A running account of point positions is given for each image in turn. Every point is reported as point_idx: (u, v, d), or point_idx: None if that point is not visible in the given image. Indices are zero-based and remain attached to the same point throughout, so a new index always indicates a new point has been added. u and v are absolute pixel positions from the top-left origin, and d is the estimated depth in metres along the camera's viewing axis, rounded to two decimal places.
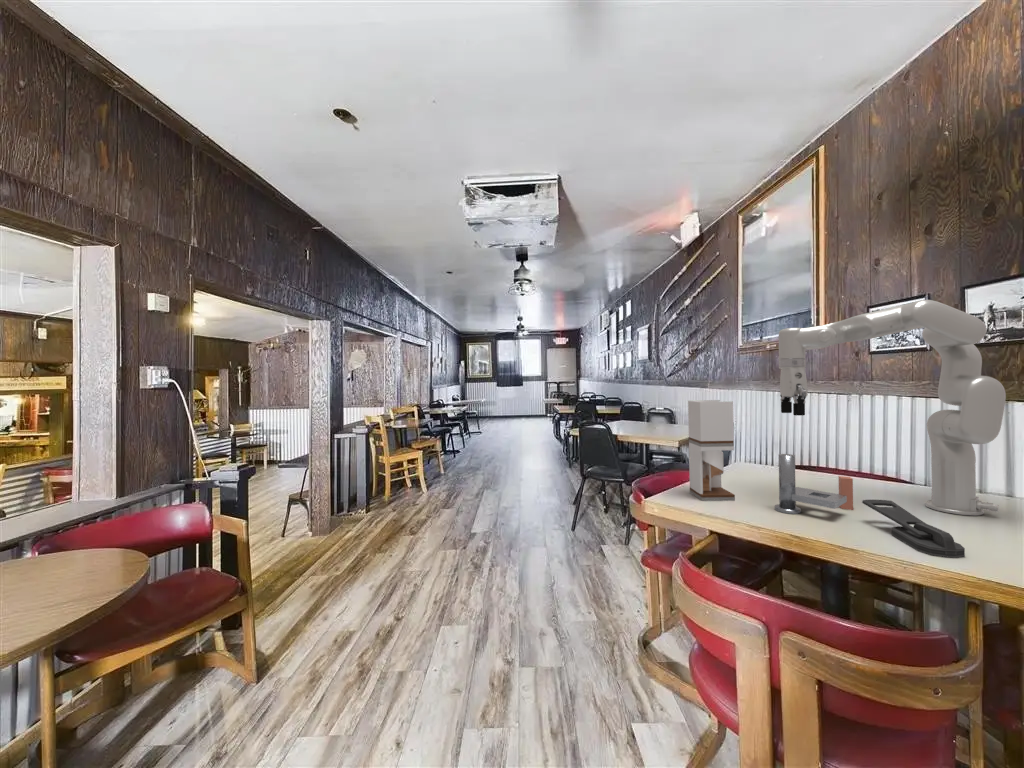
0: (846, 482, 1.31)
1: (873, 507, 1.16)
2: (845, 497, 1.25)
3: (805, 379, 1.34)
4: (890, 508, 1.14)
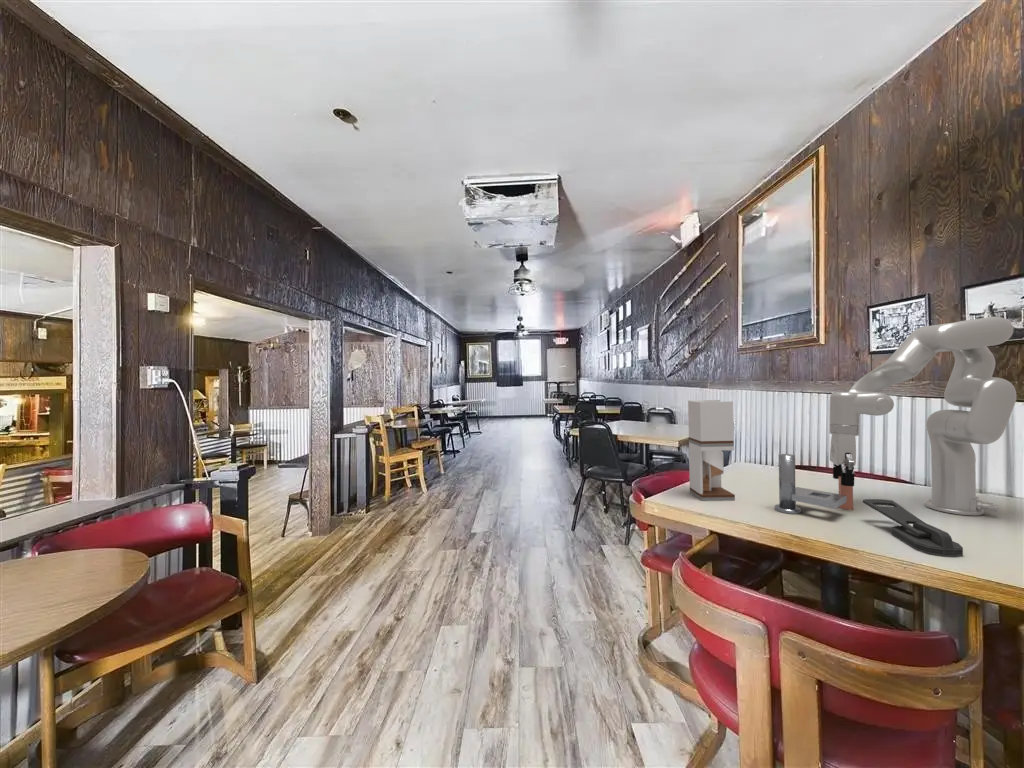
0: None
1: (873, 506, 1.16)
2: (845, 497, 1.25)
3: None
4: (890, 507, 1.15)
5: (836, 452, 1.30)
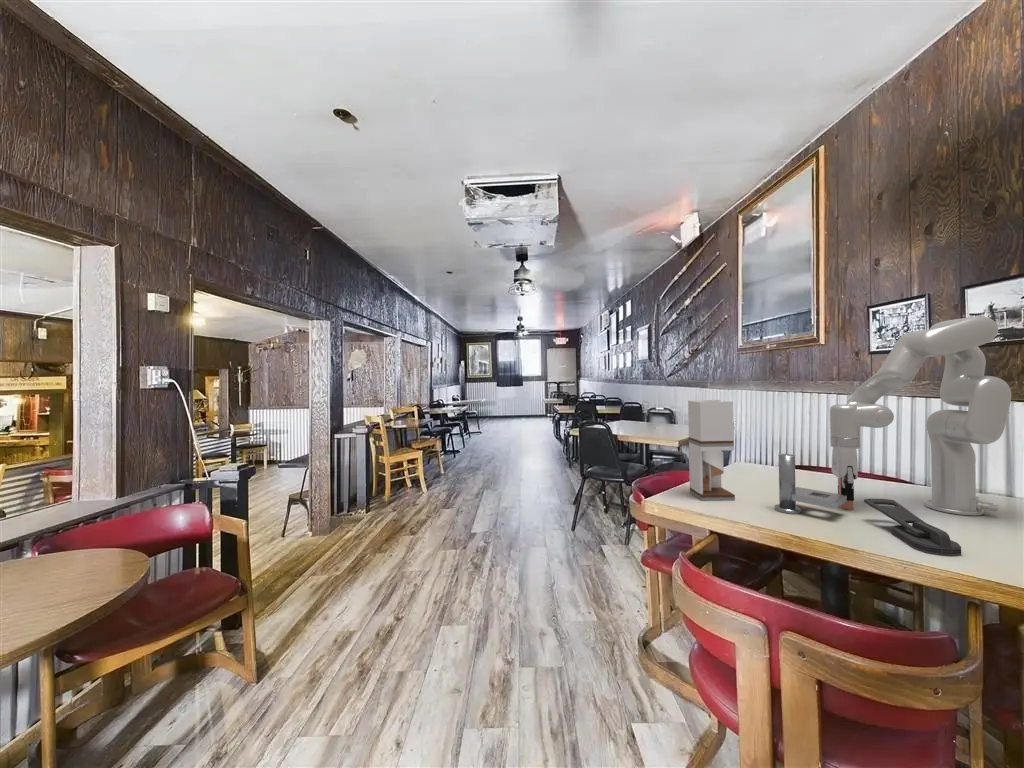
0: None
1: (874, 506, 1.17)
2: (845, 497, 1.25)
3: None
4: (891, 507, 1.15)
5: (838, 465, 1.30)
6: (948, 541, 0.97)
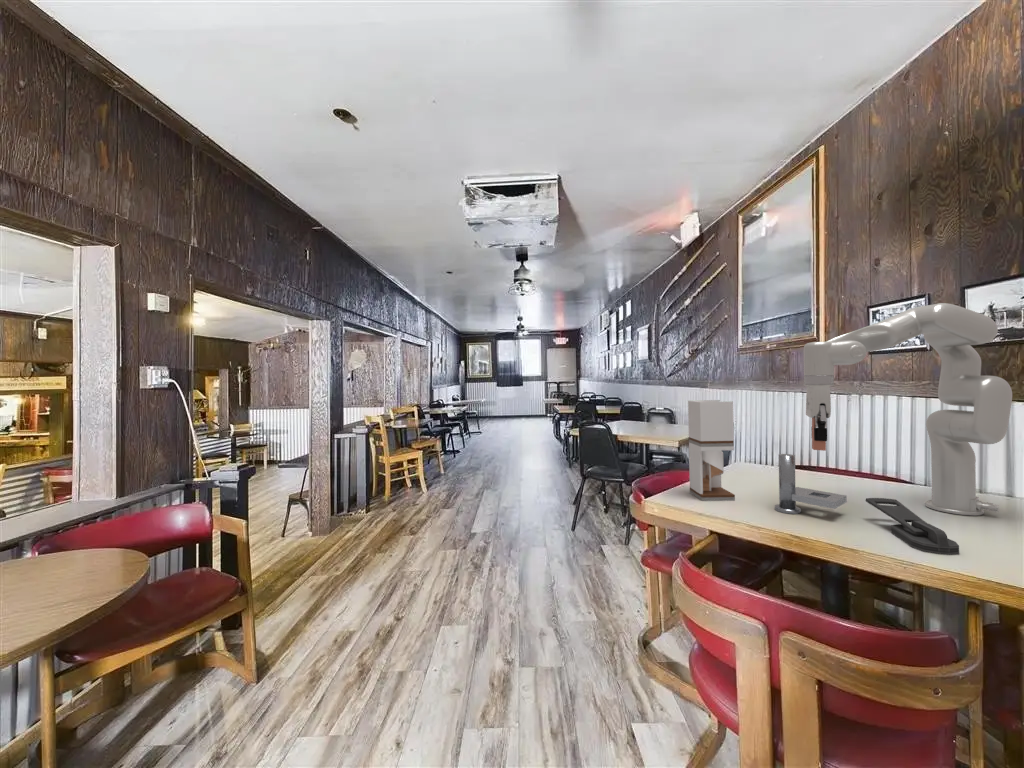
0: None
1: (875, 505, 1.17)
2: (845, 497, 1.25)
3: None
4: (892, 506, 1.16)
5: (810, 404, 1.25)
6: (945, 540, 0.97)
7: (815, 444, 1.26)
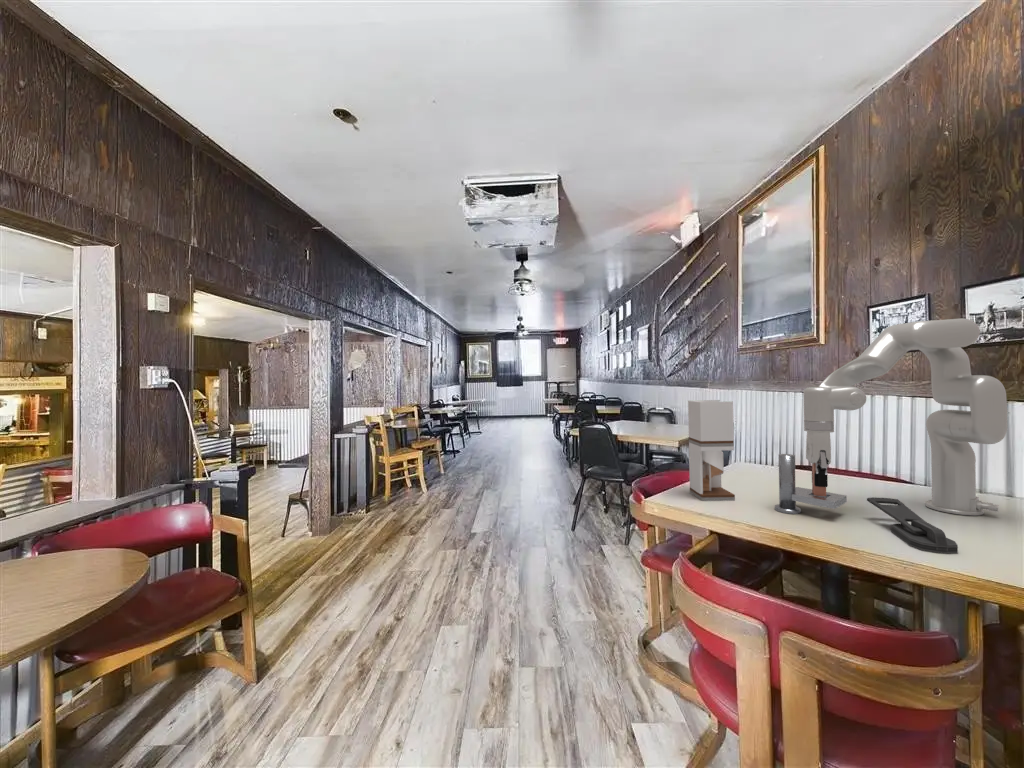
0: None
1: (876, 504, 1.18)
2: (845, 497, 1.25)
3: None
4: (893, 506, 1.16)
5: (811, 450, 1.25)
6: (944, 539, 0.98)
7: (815, 489, 1.26)
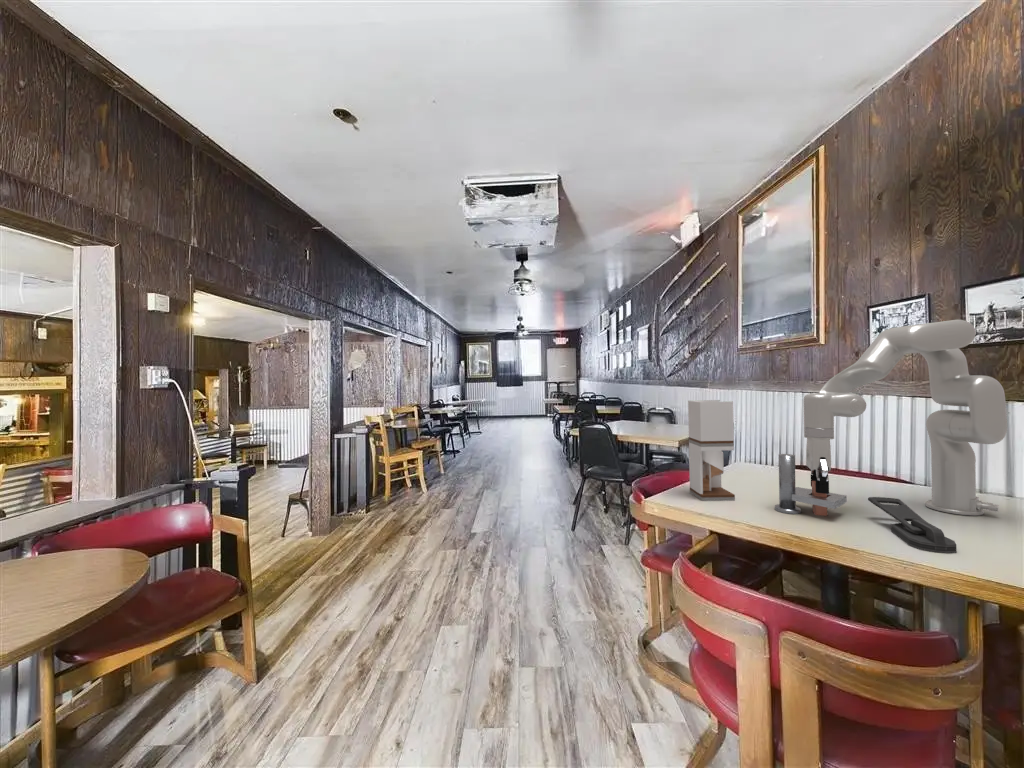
0: None
1: (877, 504, 1.18)
2: (845, 497, 1.25)
3: None
4: (894, 505, 1.16)
5: (811, 457, 1.25)
6: (942, 538, 0.98)
7: (816, 509, 1.26)
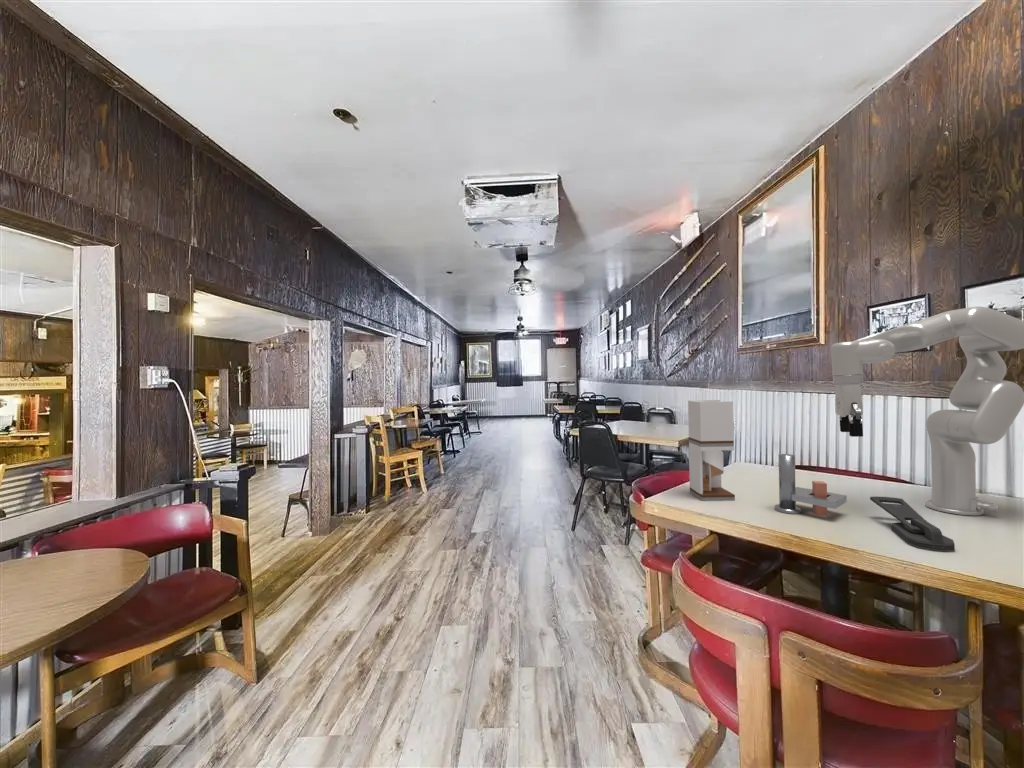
0: (820, 487, 1.26)
1: (878, 503, 1.19)
2: (845, 497, 1.25)
3: None
4: (895, 505, 1.17)
5: (842, 403, 1.27)
6: (940, 537, 0.99)
7: (817, 509, 1.26)
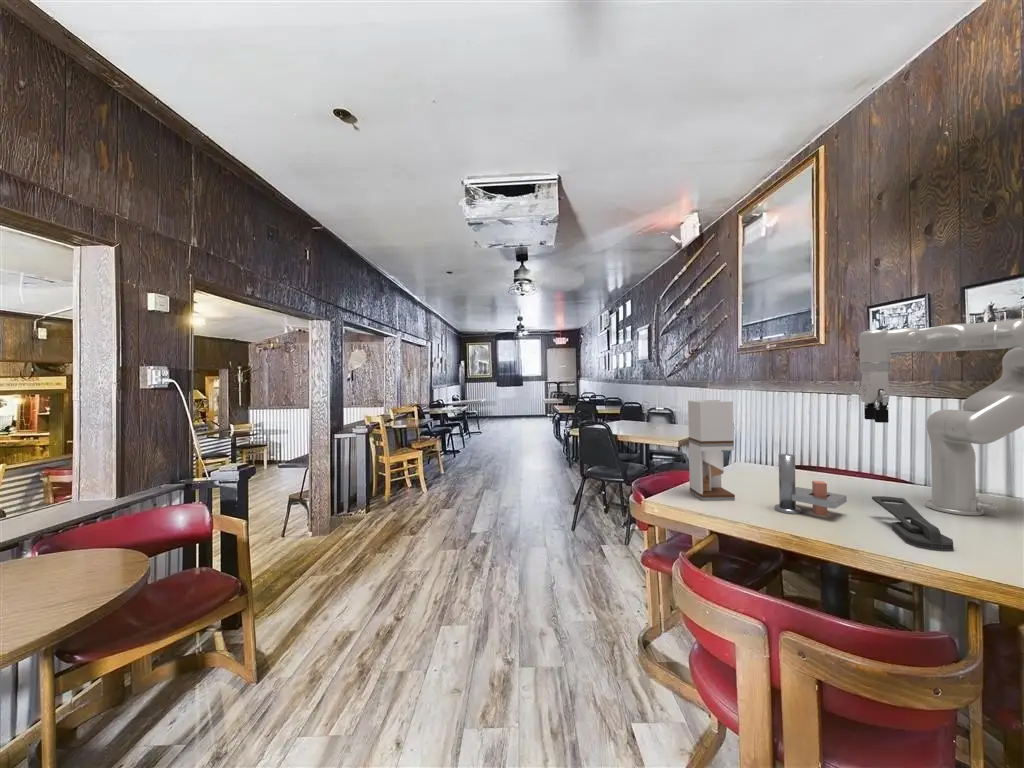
0: (820, 487, 1.26)
1: (879, 503, 1.19)
2: (845, 497, 1.25)
3: None
4: (897, 504, 1.17)
5: (868, 390, 1.29)
6: (938, 536, 0.99)
7: (817, 509, 1.26)
